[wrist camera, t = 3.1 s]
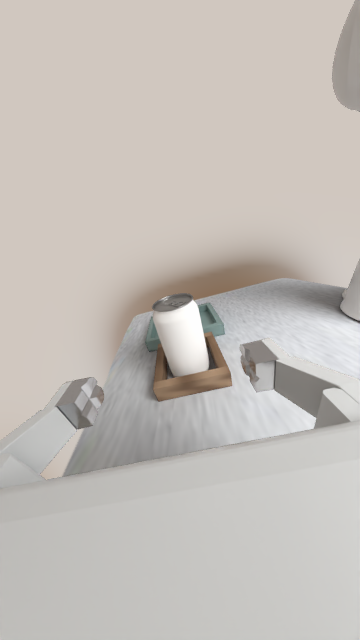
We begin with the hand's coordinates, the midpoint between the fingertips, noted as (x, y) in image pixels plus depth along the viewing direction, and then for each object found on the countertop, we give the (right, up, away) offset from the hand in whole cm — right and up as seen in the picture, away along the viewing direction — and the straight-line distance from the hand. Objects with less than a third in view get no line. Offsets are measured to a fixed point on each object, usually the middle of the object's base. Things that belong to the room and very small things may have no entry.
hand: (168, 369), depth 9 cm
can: (+2, -5, +18) cm, 19 cm away
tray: (+2, +1, +30) cm, 30 cm away
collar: (+2, -5, +18) cm, 19 cm away
